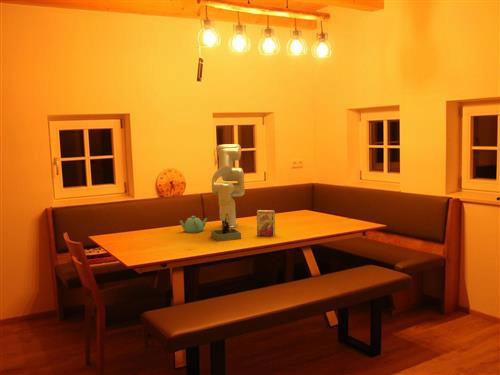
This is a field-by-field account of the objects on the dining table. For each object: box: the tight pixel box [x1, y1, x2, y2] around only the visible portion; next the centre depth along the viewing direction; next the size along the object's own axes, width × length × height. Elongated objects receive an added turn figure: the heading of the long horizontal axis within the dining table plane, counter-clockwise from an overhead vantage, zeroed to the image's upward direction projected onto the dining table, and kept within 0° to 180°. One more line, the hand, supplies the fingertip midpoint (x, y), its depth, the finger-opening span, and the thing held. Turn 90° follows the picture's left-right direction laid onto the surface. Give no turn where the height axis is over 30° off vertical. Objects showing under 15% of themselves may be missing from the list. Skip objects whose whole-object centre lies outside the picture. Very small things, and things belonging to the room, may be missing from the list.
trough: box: [210, 227, 242, 242], centre depth 336 cm, size 16×16×4 cm
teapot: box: [179, 215, 208, 234], centre depth 361 cm, size 15×15×11 cm
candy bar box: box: [256, 209, 276, 237], centre depth 338 cm, size 11×5×16 cm, turn 70°
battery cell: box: [221, 220, 229, 234], centre depth 335 cm, size 4×4×9 cm
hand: (225, 230), depth 335 cm, fingers closed on battery cell, 4 cm apart
